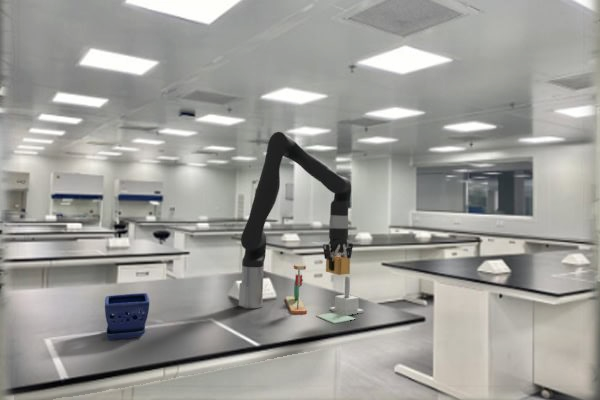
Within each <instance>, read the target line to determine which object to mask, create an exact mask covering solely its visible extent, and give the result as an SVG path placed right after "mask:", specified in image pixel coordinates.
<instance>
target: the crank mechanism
mask: <svg viewBox="0 0 600 400" xmlns="http://www.w3.org/2000/svg"><path fill="white" fill-rule="evenodd" d="M306 267H307V266H306V264H300V263H298V264H297V263H296V264H293V269H294V270H297V271H298V273H296V274H295V278H294V279H295V281H294V284H293V285H294V287H293V294H294V295H293V296H292V295H291V296H289V295H287V296H285V298H284V299H285V302H286V305H287V308H288V310H289V312H290V314H291V315H306V314H307V312H308V310H307V308H306V307H305V304H304V303H303V301H302V299H301V297H300V288H301V287H302V285H303V282H304V279H303V274H301V272H300V271H301V270H302V271H304V270H306V269H307V268H306Z"/></svg>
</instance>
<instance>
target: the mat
mask: <svg viewBox="0 0 600 400" xmlns="http://www.w3.org/2000/svg"><path fill="white" fill-rule="evenodd" d="M316 317H318V318H319V319H321V320H324V321H327V322H329V323H331V324H333V325H335V324H340V323H345V322H350V320H352V321H355V320H354V319H356V320H357V318H355V317H353V316H351V315H345V314H342V313H339V312H334V311H333V312H328V313H323V314H322V313H321V314H317V315H316Z"/></svg>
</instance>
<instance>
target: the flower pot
mask: <svg viewBox="0 0 600 400" xmlns="http://www.w3.org/2000/svg"><path fill="white" fill-rule="evenodd" d="M149 311H150V298H149V296H148V293H147V292H141V293H126V294H115V295H107V296H106V297H105V299H104V314H105V321H106V323H107V328H106V332H105V336H106V338H107V339H108V340H112V341H113V340H120V339H121V340H122V339H132V338H139V337H142V336H144V334H145V332H146V322H147V319H148V316H149Z"/></svg>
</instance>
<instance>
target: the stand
mask: <svg viewBox="0 0 600 400" xmlns="http://www.w3.org/2000/svg"><path fill="white" fill-rule="evenodd" d="M350 285H351V277H350V276H346V275H345V276H344V294H340V295H335V296H334V306H331V307H329V310H330V311H331V312H333V313H334V312H339V313H342V314H345V315H347V316H351V315H352V314H353V315H358V314H363V313H364V311H365V310H364V309H362V308H359V303H360V302H359V301H360V299H359V298H360V297H357V296H354V295H350V292H351V291H350V290H351V289H350ZM357 313H358V314H357Z"/></svg>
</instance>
